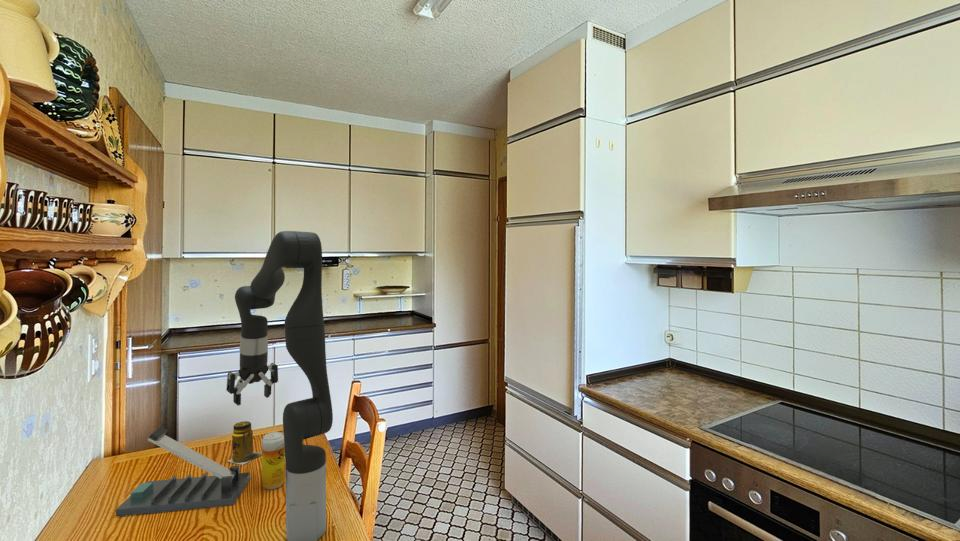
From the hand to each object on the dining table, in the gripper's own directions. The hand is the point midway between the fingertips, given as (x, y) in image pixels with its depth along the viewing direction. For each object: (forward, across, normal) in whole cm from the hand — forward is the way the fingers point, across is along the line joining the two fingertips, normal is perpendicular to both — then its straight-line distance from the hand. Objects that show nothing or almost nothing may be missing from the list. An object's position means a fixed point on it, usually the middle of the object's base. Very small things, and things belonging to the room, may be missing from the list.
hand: (252, 400), depth 131 cm
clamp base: (+24, -17, 0) cm, 29 cm away
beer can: (+22, +1, -13) cm, 26 cm away
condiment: (+26, +3, +11) cm, 28 cm away
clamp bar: (+13, -16, 0) cm, 21 cm away
